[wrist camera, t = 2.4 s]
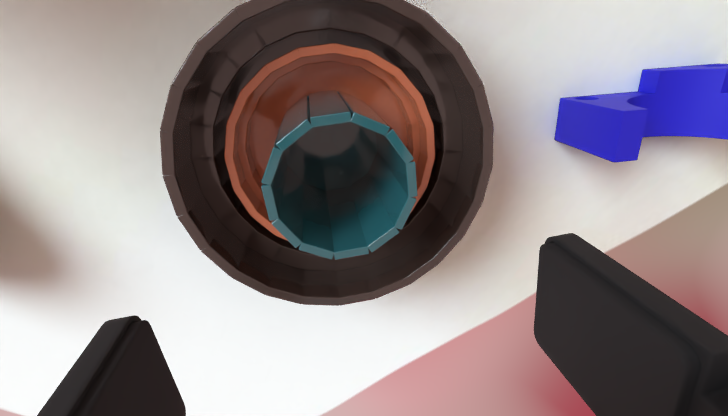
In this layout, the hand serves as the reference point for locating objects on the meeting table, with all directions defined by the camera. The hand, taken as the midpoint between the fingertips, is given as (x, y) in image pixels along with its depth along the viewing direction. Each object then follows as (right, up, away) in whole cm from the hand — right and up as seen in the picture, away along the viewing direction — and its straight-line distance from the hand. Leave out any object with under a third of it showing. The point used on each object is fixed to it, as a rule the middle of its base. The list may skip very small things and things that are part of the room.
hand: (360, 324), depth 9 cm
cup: (-2, +7, +16) cm, 18 cm away
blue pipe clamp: (+20, +11, +19) cm, 30 cm away
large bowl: (-2, +7, +17) cm, 19 cm away
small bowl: (-2, +7, +17) cm, 19 cm away
